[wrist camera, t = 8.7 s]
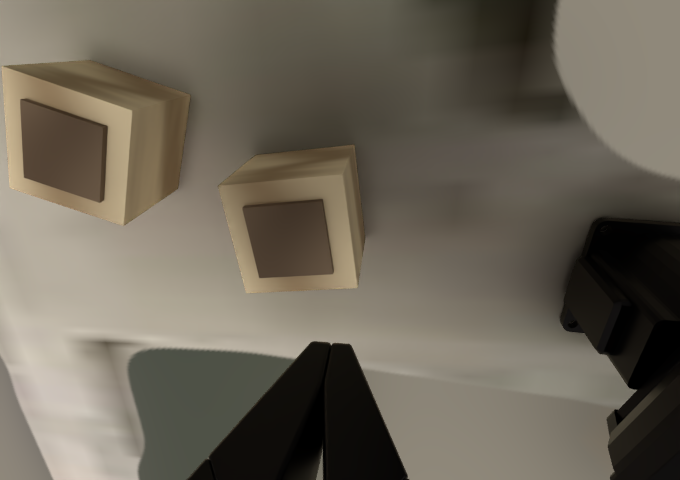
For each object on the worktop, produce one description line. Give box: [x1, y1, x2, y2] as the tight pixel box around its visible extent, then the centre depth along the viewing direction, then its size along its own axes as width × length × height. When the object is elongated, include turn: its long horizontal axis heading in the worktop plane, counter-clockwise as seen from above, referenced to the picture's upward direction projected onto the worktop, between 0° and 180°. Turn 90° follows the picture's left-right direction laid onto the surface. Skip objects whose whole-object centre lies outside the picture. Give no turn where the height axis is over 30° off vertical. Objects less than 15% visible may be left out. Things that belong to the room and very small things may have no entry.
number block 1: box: [2, 60, 191, 226], centre depth 18 cm, size 5×5×5 cm
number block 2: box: [218, 145, 365, 293], centre depth 19 cm, size 5×5×5 cm
